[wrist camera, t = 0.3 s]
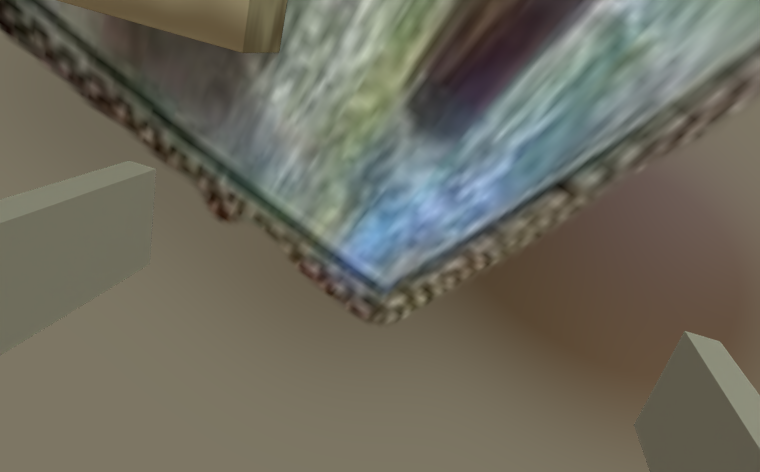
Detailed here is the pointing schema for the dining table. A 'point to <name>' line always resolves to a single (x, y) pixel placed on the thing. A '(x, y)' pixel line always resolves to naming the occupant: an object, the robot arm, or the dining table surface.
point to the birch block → (205, 20)
